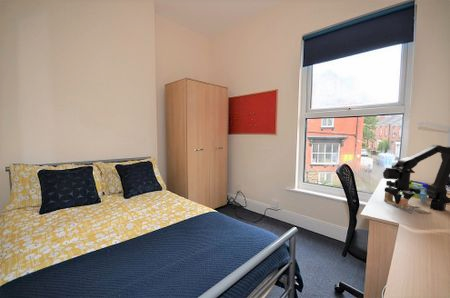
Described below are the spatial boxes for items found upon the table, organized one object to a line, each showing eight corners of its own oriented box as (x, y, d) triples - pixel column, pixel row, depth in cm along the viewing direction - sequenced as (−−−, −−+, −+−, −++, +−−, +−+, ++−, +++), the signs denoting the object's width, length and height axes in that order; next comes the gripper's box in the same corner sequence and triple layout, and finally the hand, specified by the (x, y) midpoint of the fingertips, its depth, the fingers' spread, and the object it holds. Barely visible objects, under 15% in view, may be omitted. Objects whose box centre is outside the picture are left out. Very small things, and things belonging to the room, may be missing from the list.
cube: (400, 203, 130) (401, 197, 129) (407, 206, 125) (408, 199, 125) (394, 203, 129) (395, 197, 129) (400, 206, 125) (401, 199, 124)
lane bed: (399, 201, 138) (399, 199, 138) (431, 214, 118) (431, 211, 118) (381, 202, 137) (381, 199, 137) (410, 215, 118) (410, 212, 117)
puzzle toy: (426, 197, 148) (428, 183, 147) (418, 198, 145) (420, 185, 144) (409, 192, 158) (411, 180, 156) (402, 194, 154) (403, 181, 153)
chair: (429, 205, 133) (431, 187, 132) (414, 204, 135) (416, 186, 133) (420, 201, 141) (423, 184, 139) (406, 199, 142) (408, 183, 141)
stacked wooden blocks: (390, 200, 138) (390, 192, 137) (409, 208, 124) (410, 199, 124) (383, 200, 137) (384, 192, 137) (402, 208, 124) (403, 199, 123)
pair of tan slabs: (411, 205, 129) (411, 204, 129) (429, 213, 118) (429, 211, 118) (404, 205, 129) (404, 204, 129) (421, 213, 118) (422, 211, 118)
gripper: (405, 176, 134) (402, 198, 136) (378, 176, 133) (376, 199, 135) (422, 180, 123) (419, 205, 125) (393, 181, 122) (391, 206, 124)
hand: (400, 203), depth 127 cm, fingers closed on cube, 4 cm apart
